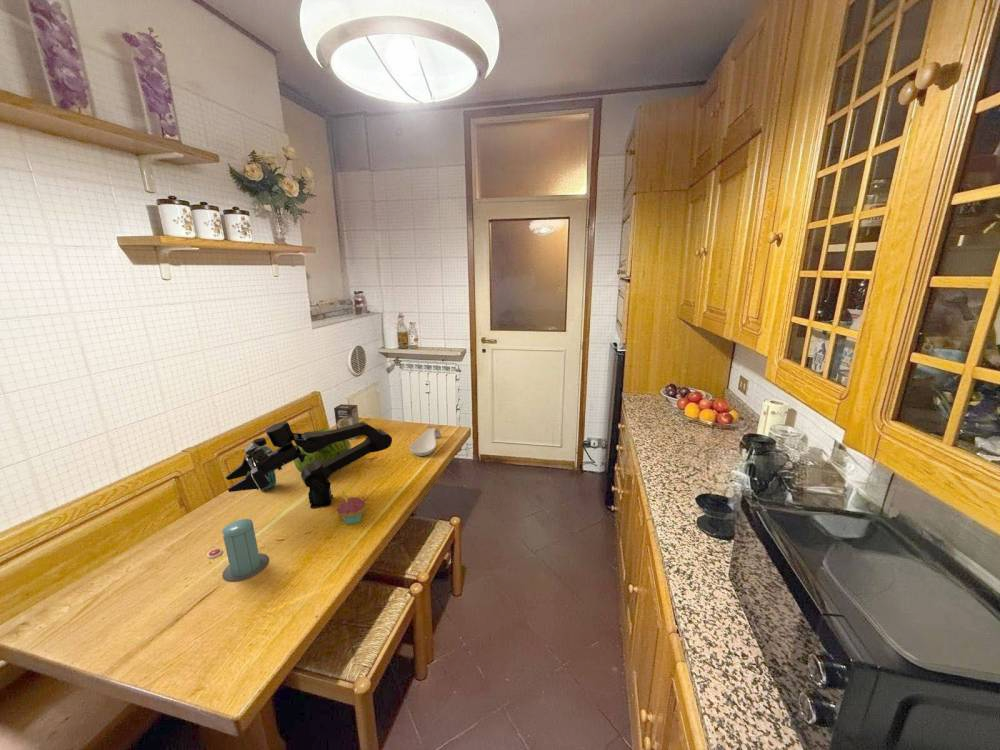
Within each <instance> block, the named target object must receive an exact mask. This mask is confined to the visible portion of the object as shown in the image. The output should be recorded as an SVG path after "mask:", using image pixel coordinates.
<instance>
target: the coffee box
mask: <svg viewBox="0 0 1000 750" xmlns="http://www.w3.org/2000/svg"><path fill="white" fill-rule="evenodd" d="M333 410H334V411H333V412H334V418H335V419H334V420H335V425H336V426H335V427H336V429H338V428H342V427H346V426H350V425H354V424H358V423H360V421H359V419H360V418H359V410H358V405H357V404H344V403H343V404H342V403H341V404H339V405H337V406H335V407H334V408H333ZM350 439H355V440H356V439H358V437H354V438H350ZM350 439H349V440H350Z"/></svg>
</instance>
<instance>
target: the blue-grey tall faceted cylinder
mask: <svg viewBox="0 0 1000 750" xmlns="http://www.w3.org/2000/svg"><path fill="white" fill-rule="evenodd" d="M222 537H223V540H224V541H223V542H224V546H225V551H226V555H227V560H228V563H229V564H228V565H230V569H231V574H232V575H234V576H243V575H246V574H249V573H252V572H253V571H255V570H256V569H257V568H258V567H259V566H260V565H261V563H260V556H259V553H260V552H259V546H258V541H257V536H256V532H255V528H254V521H252V519H249V518H243V519H238V520H235V521H233V522H231V523H229V524H227V525H226V526H224V528H223V529H222Z"/></svg>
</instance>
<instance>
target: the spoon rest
mask: <svg viewBox="0 0 1000 750" xmlns="http://www.w3.org/2000/svg"><path fill="white" fill-rule="evenodd" d="M435 437H441V438H442V434H441V431H440V429H439V428H433V427H430V428H428V429H426V431H424V433H422V434H421V435H420V436H419V437H418V438H416V439H415V440H414V441H413V442H412V443H410V445H409V448H408V449H409V451H410V452H411V453H412V454H413V455H416V456H418V457H425V456H428V455H431V454H432V453H433V452H434V451H435V450H436V448H437V438H435Z"/></svg>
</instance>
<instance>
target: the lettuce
mask: <svg viewBox="0 0 1000 750" xmlns="http://www.w3.org/2000/svg"><path fill="white" fill-rule="evenodd" d="M330 430H331V429H328V428H327V429H325V428H322V429H318V430H316V431H330ZM294 446H297V445H296V443H295V444H294ZM298 447H299V446H298ZM299 448H300V450H301V452H302V453H305V454H306V456H305V458H304V461H303V463H301V461H300V460H299V458H297V459H295V460H293V462H294V466H295V467H296V469H297V471H298V472H300V473H301V472H302V470H303V469H304V468H305V467H307V466H306V465H307V464H311V463H313V462H314V461H315V460H319V461H320V462H326V461H328V460H330V459H332V458H334V457H336V456H338V455H339V454H341V453H343V452H345V451H347V450H349V449H351V448H352V444H351V442H350V440H349V439H346V440H343V441H339V442H335V443H332V444H329V445H327V446H326V447H325V448H323V449H321V450H319V451H317V452H314V453H307V452H305V451H304V450H303V449H302V448H301V447H299Z"/></svg>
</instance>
